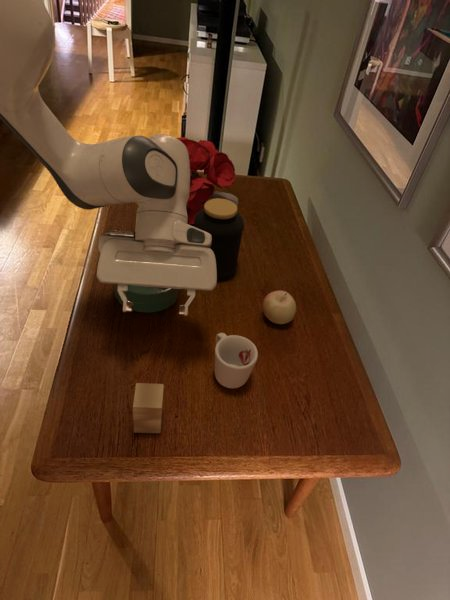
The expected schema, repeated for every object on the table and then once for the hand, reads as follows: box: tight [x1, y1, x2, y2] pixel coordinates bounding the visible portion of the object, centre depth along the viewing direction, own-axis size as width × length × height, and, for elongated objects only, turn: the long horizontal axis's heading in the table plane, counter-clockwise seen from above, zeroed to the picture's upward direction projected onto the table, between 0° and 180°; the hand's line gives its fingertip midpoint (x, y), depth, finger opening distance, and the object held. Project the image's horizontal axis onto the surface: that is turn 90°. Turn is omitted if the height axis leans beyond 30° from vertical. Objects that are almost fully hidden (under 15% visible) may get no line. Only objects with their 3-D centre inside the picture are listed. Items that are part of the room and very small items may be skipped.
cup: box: [214, 332, 259, 389], centre depth 77 cm, size 11×8×8 cm
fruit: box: [261, 289, 297, 325], centre depth 90 cm, size 8×7×8 cm
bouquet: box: [175, 136, 239, 225], centre depth 113 cm, size 22×24×30 cm
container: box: [193, 198, 245, 279], centre depth 97 cm, size 12×12×18 cm
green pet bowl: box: [112, 284, 181, 314], centre depth 91 cm, size 15×15×6 cm
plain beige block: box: [132, 382, 165, 434], centre depth 67 cm, size 4×4×8 cm
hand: (155, 313), depth 69 cm, fingers open, 8 cm apart
